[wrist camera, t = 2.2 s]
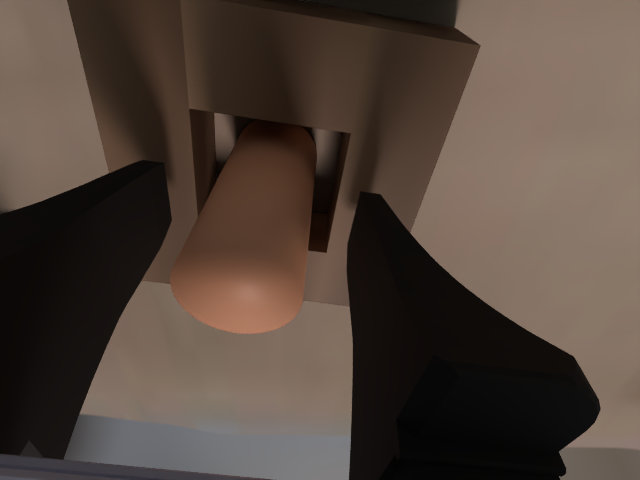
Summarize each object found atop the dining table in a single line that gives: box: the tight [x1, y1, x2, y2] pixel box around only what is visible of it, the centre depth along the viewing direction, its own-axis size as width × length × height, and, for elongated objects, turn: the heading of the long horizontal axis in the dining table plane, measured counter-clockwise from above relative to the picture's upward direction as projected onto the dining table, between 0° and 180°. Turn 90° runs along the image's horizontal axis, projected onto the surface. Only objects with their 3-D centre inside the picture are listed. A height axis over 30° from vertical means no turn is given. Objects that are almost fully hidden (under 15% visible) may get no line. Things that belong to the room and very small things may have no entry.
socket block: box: [67, 0, 480, 306], centre depth 13 cm, size 10×10×2 cm
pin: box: [170, 119, 317, 334], centre depth 11 cm, size 3×3×7 cm
